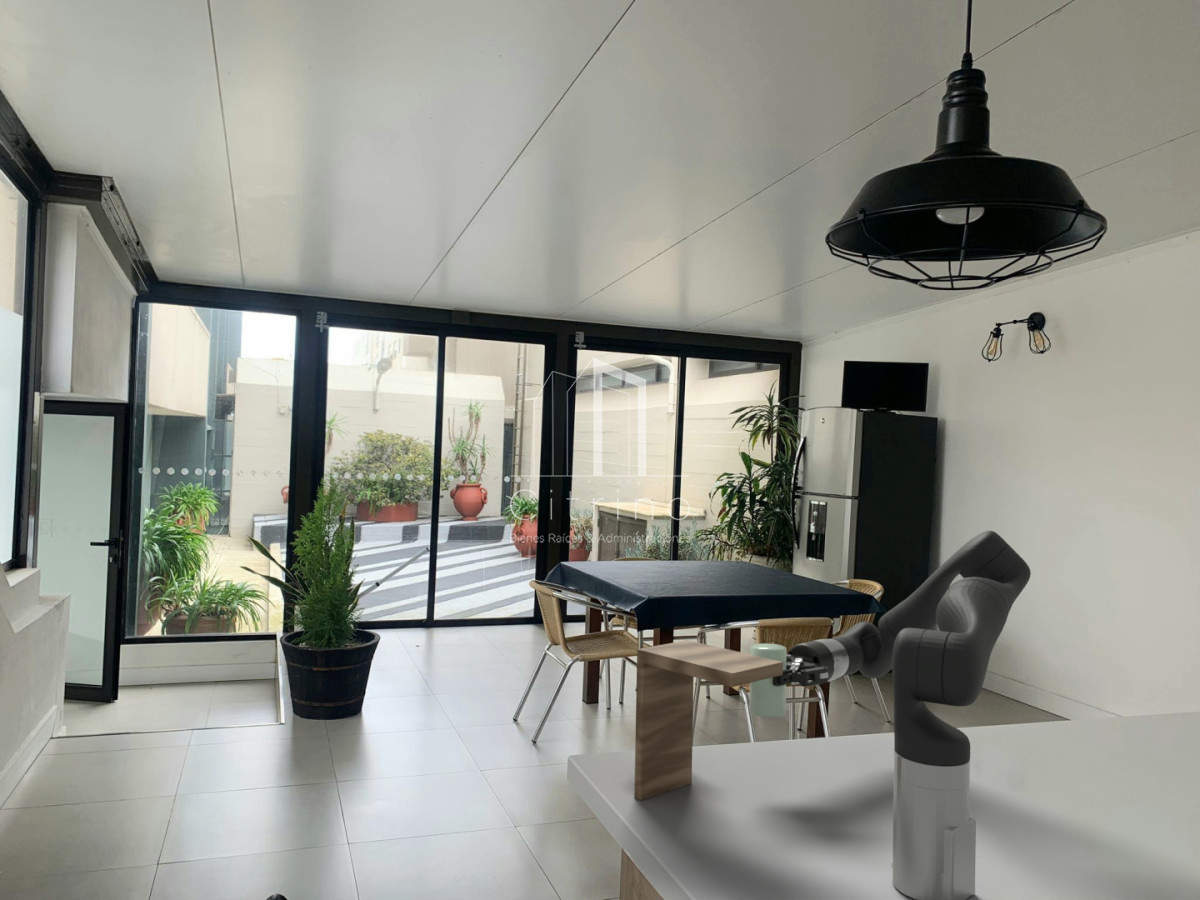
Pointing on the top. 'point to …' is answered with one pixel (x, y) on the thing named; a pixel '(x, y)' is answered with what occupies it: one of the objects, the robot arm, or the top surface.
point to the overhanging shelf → (680, 706)
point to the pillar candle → (768, 685)
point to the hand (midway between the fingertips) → (759, 675)
